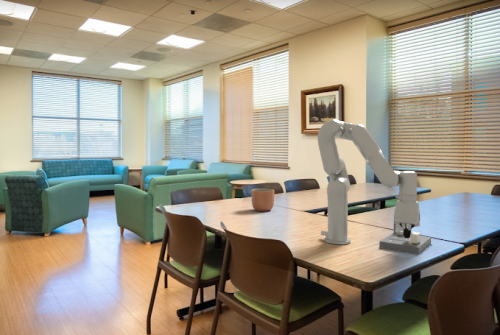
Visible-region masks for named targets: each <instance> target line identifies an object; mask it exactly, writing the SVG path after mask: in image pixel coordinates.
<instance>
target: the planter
mask: <svg viewBox="0 0 500 335" xmlns="http://www.w3.org/2000/svg"><path fill="white" fill-rule="evenodd" d="M250 192H251V193H250V194H251V195H250V196H251V197H250V198H251V207H252V208H253V209H254V210H255V211H256V210H257V212H269V211H271V210H272V209H273V207H274V204H275V189H273V188H253V189H251V190H250Z"/></svg>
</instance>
